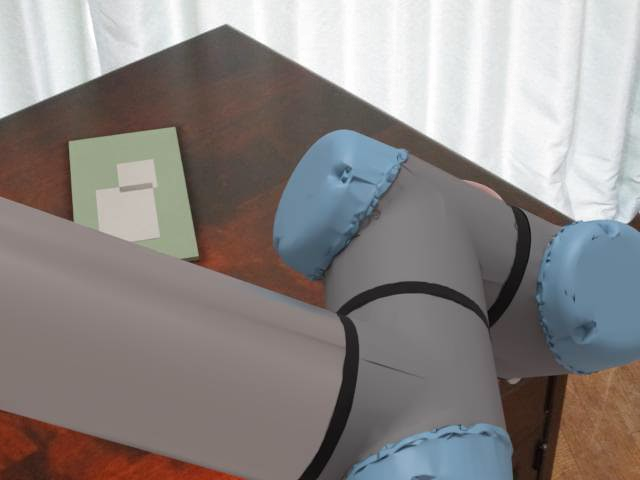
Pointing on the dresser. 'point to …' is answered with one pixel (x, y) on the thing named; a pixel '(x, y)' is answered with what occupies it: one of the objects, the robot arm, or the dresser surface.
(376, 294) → the robot arm
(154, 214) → the chalk board
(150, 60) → the dresser surface
